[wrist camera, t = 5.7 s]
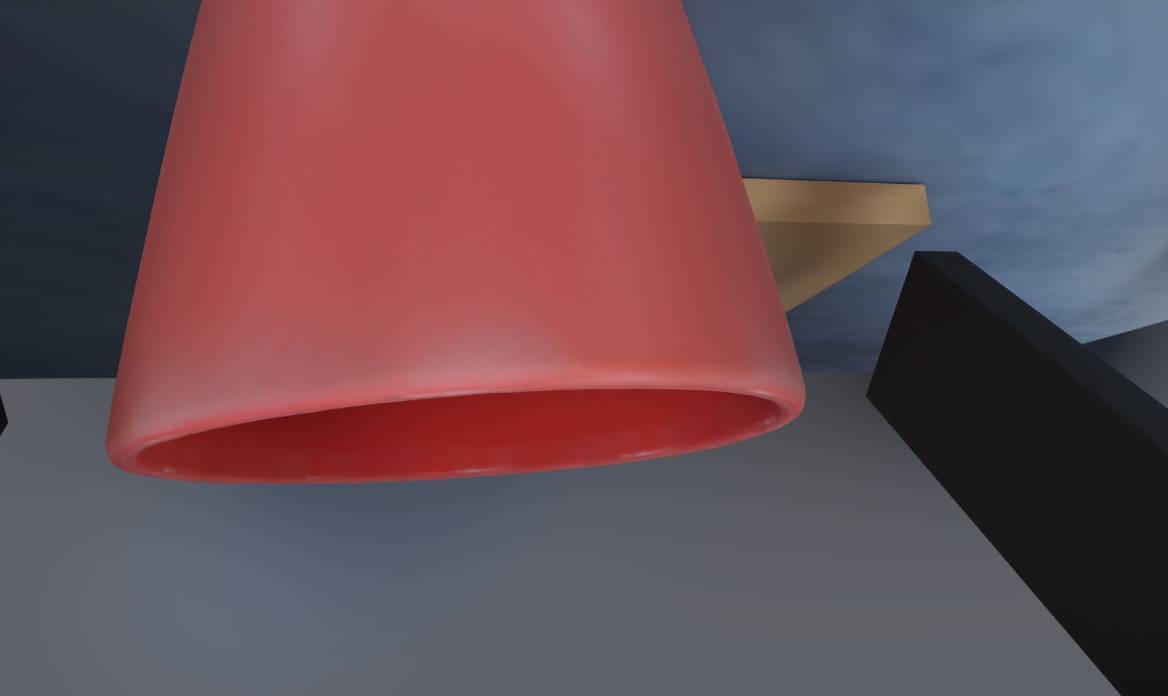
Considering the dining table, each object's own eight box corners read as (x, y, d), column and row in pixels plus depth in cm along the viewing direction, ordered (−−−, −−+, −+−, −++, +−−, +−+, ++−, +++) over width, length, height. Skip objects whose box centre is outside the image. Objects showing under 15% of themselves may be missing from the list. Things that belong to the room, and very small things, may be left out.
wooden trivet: (339, 314, 40) (339, 346, 39) (317, 161, 25) (318, 211, 24) (738, 312, 45) (741, 340, 44) (925, 183, 29) (932, 224, 29)
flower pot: (807, -9, 18) (874, 440, 16) (410, 135, 23) (419, 494, 21) (556, -522, 9) (633, 345, 7) (-8, -107, 14) (-67, 479, 12)
